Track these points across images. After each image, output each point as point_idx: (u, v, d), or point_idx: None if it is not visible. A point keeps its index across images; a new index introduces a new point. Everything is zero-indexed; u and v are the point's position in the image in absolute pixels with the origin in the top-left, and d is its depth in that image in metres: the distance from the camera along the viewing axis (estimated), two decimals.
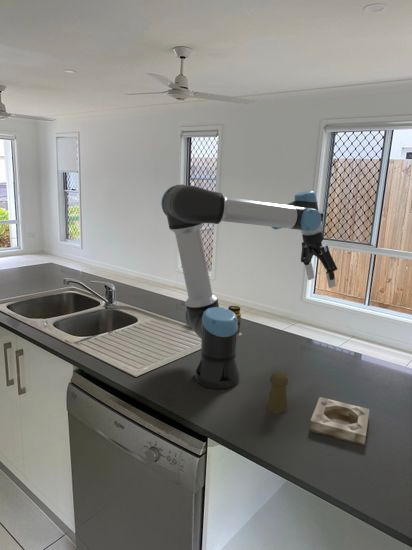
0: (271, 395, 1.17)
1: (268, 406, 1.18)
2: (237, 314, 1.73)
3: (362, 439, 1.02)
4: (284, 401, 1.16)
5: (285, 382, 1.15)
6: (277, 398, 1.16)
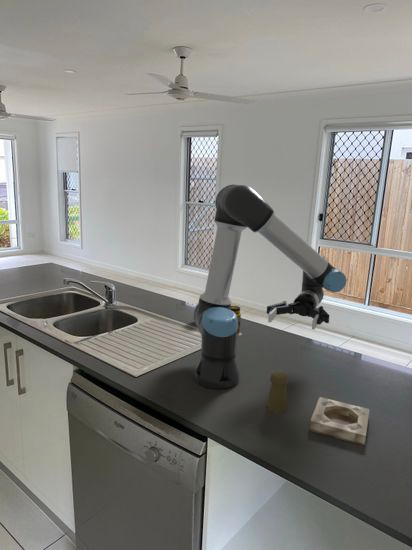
0: (271, 395, 1.17)
1: (268, 406, 1.18)
2: (237, 314, 1.73)
3: (362, 439, 1.02)
4: (284, 401, 1.16)
5: (285, 382, 1.15)
6: (277, 398, 1.16)
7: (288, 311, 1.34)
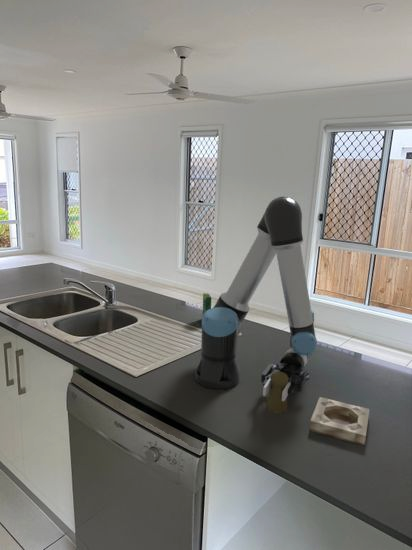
0: (271, 395, 1.17)
1: (268, 406, 1.18)
2: None
3: (362, 439, 1.02)
4: (284, 401, 1.16)
5: (285, 382, 1.15)
6: (277, 398, 1.16)
7: None
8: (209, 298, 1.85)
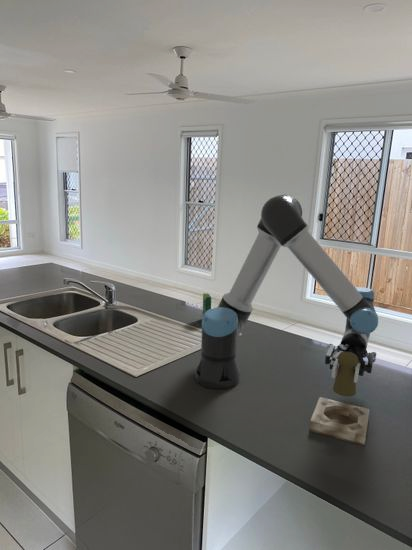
0: (339, 377, 1.07)
1: (335, 389, 1.08)
2: None
3: (362, 439, 1.02)
4: (354, 383, 1.07)
5: (356, 362, 1.05)
6: (347, 380, 1.06)
7: None
8: (209, 298, 1.85)
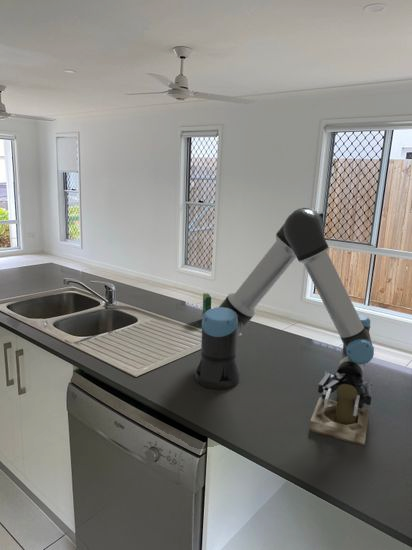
0: (339, 410, 1.09)
1: (336, 422, 1.10)
2: None
3: (362, 439, 1.02)
4: (354, 416, 1.08)
5: (354, 395, 1.07)
6: (347, 412, 1.08)
7: (337, 387, 1.17)
8: (209, 298, 1.85)
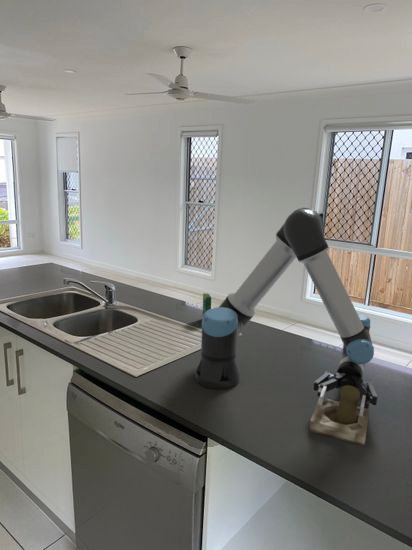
0: (341, 411, 1.09)
1: (337, 422, 1.10)
2: None
3: (362, 439, 1.02)
4: (355, 417, 1.08)
5: (357, 397, 1.07)
6: (348, 414, 1.08)
7: (335, 386, 1.18)
8: (209, 298, 1.85)
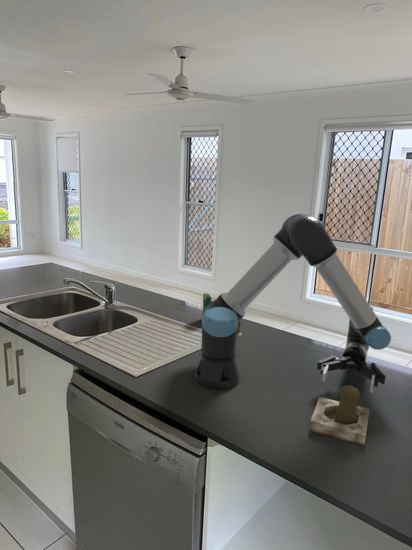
0: (340, 411, 1.09)
1: (337, 422, 1.10)
2: None
3: (362, 439, 1.02)
4: (355, 417, 1.08)
5: (357, 397, 1.07)
6: (348, 414, 1.08)
7: (339, 367, 1.30)
8: (209, 298, 1.85)
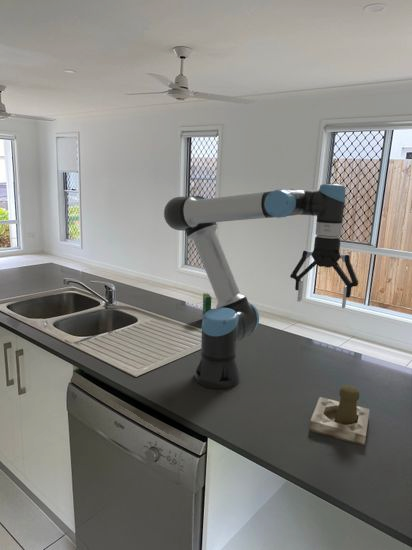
0: (340, 411, 1.09)
1: (337, 422, 1.10)
2: None
3: (362, 439, 1.02)
4: (355, 417, 1.08)
5: (357, 397, 1.07)
6: (348, 414, 1.08)
7: None
8: (209, 298, 1.85)
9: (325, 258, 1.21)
